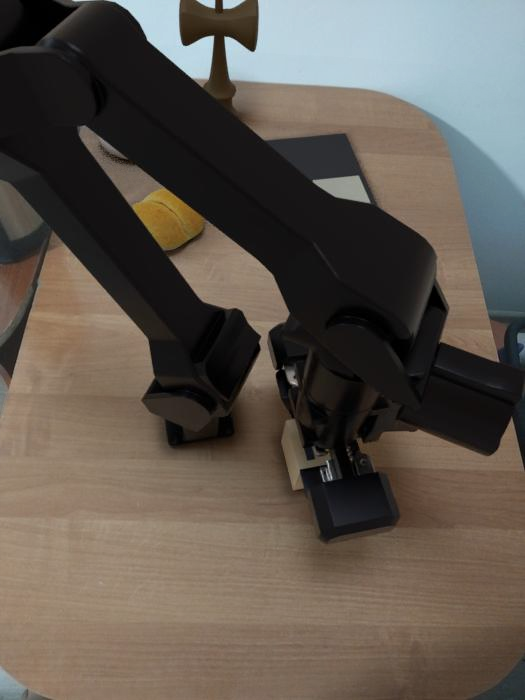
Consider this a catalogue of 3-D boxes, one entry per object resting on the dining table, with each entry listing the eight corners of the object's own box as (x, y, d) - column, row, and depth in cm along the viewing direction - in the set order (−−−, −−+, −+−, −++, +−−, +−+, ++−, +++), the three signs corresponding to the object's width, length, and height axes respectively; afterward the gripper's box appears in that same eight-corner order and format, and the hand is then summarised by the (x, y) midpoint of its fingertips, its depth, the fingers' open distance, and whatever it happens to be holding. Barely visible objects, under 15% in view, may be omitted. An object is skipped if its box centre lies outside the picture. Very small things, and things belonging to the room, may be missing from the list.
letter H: (344, 480, 53) (354, 461, 49) (292, 490, 52) (299, 472, 48) (329, 432, 55) (338, 410, 51) (280, 441, 55) (285, 419, 50)
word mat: (380, 217, 72) (381, 213, 71) (258, 231, 69) (258, 227, 68) (344, 136, 80) (345, 132, 79) (234, 146, 77) (234, 142, 76)
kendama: (253, 135, 79) (261, -20, 62) (184, 131, 78) (173, -25, 61) (253, 108, 82) (261, -46, 65) (187, 105, 81) (177, -51, 64)
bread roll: (216, 225, 69) (216, 201, 66) (160, 263, 65) (157, 240, 62) (172, 190, 72) (169, 165, 68) (116, 225, 68) (110, 201, 65)
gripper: (502, 482, 36) (427, 539, 49) (405, 263, 46) (364, 360, 59) (338, 516, 34) (306, 565, 48) (272, 281, 44) (261, 377, 57)
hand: (313, 457), depth 53 cm, fingers closed on letter H, 5 cm apart
